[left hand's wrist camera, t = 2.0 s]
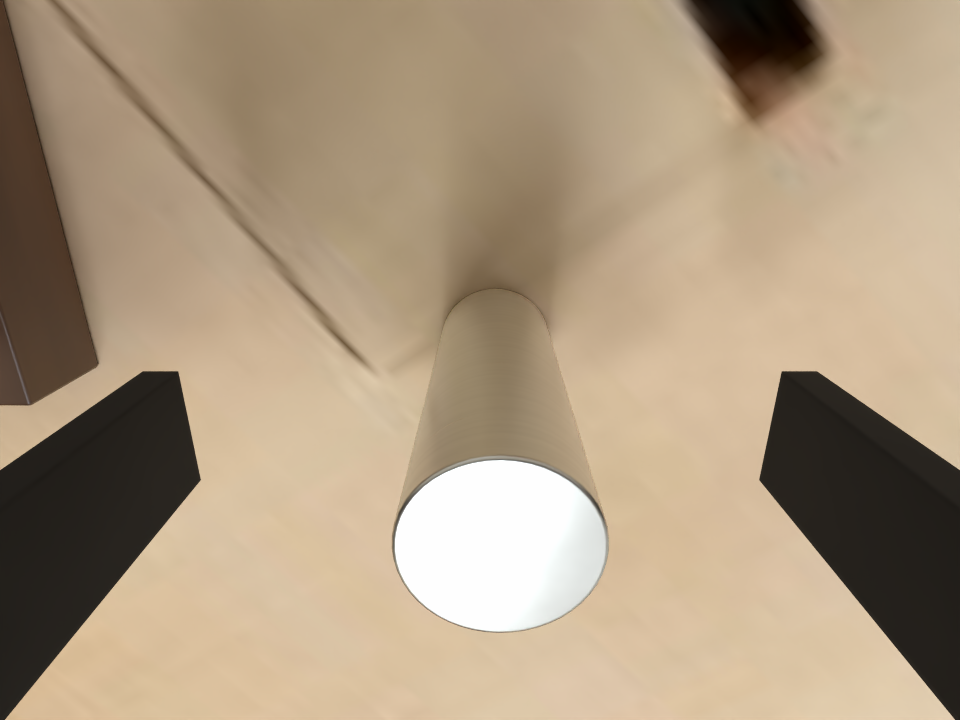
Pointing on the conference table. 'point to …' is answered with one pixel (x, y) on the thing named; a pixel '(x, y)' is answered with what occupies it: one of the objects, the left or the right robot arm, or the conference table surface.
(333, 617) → the conference table surface
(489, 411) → the peg
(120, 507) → the left robot arm
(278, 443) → the conference table surface
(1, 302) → the peg board
